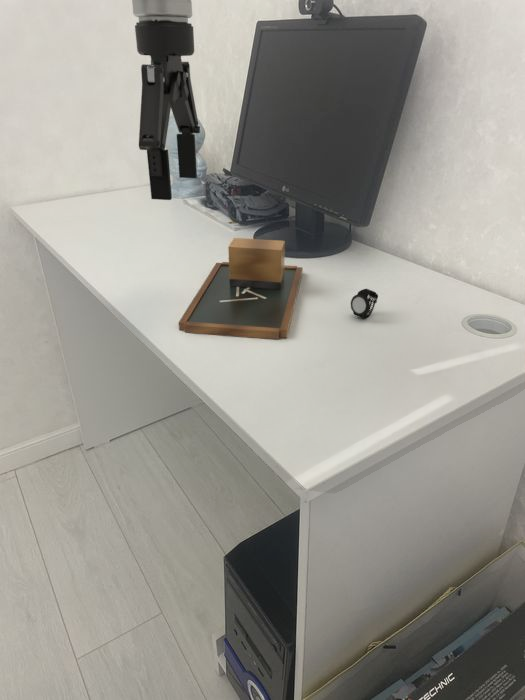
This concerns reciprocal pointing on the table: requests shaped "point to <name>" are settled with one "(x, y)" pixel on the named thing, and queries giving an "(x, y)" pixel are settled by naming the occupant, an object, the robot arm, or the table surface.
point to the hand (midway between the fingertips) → (175, 187)
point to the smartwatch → (363, 303)
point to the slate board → (242, 306)
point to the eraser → (256, 263)
